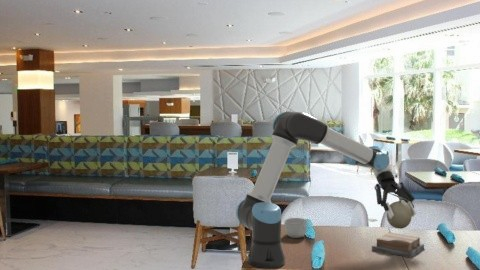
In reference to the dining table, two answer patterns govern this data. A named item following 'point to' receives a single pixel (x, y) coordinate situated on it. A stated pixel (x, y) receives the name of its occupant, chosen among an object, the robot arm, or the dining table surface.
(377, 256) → the dining table surface
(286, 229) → the teacup
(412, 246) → the stand
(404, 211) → the fruit
